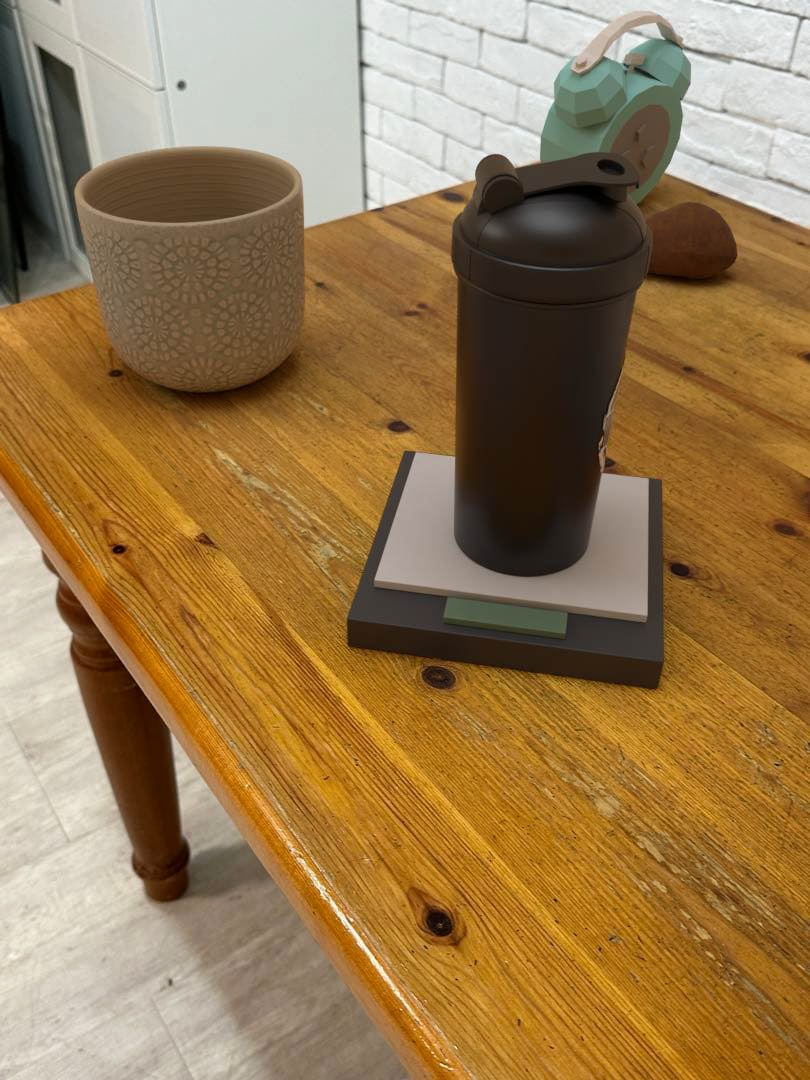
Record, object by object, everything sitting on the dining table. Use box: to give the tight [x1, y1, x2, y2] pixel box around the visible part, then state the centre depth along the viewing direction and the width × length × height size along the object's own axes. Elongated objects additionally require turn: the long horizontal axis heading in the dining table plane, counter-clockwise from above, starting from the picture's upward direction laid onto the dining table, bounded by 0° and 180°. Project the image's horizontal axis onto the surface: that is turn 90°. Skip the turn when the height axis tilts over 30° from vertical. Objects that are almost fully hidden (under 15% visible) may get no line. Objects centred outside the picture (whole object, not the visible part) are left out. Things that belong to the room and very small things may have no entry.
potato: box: [644, 201, 738, 280], centre depth 101 cm, size 7×10×7 cm
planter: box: [73, 145, 306, 393], centre depth 83 cm, size 17×17×15 cm
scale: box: [346, 450, 665, 690], centre depth 66 cm, size 18×18×3 cm
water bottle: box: [450, 152, 653, 577], centre depth 59 cm, size 10×10×23 cm
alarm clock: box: [539, 10, 692, 205], centre depth 112 cm, size 17×10×20 cm, turn 130°
